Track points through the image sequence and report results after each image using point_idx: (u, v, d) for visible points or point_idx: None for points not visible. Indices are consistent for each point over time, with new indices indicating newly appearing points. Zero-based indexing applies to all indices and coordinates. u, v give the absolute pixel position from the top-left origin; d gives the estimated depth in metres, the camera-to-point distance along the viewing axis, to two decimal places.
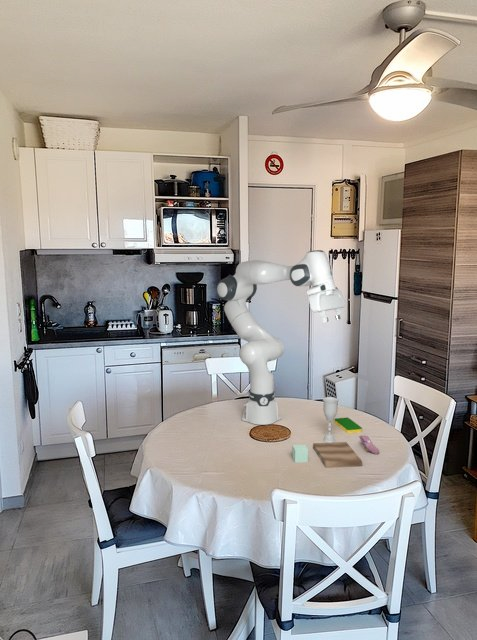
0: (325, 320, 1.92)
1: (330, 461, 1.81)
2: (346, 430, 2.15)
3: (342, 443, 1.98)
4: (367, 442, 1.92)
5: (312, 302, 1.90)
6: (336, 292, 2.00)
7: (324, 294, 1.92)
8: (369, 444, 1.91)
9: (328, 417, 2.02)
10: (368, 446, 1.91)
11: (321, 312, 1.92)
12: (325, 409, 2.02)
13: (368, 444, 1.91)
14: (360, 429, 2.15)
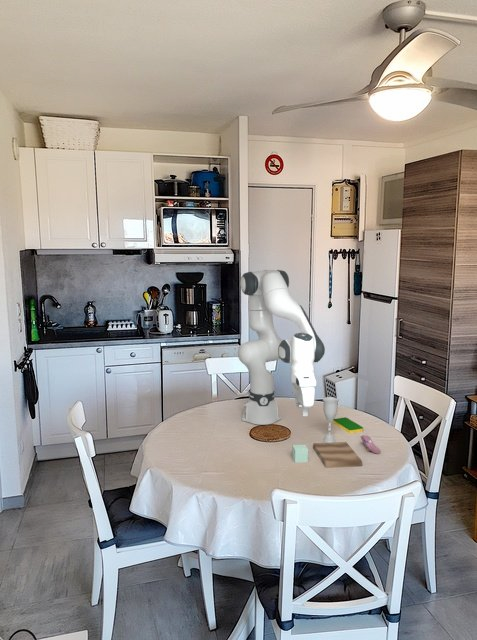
0: (306, 414, 1.79)
1: (330, 461, 1.81)
2: (348, 430, 2.14)
3: (342, 443, 1.98)
4: (368, 442, 1.92)
5: (307, 397, 1.73)
6: None
7: None
8: (370, 444, 1.92)
9: (328, 417, 2.02)
10: (369, 446, 1.91)
11: None
12: (325, 409, 2.02)
13: (369, 444, 1.92)
14: (361, 429, 2.15)
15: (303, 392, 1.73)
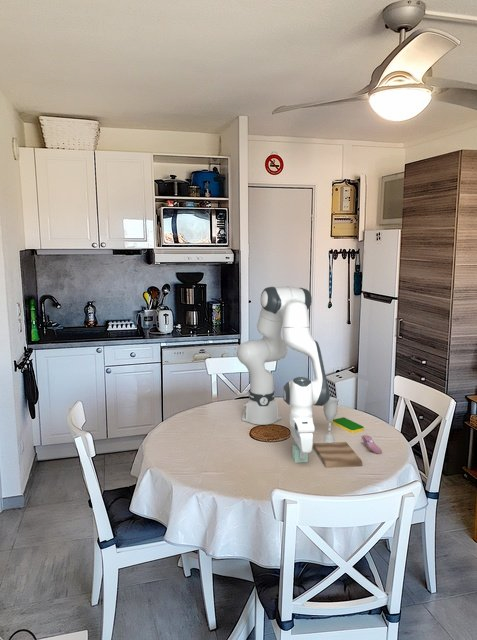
0: (303, 456, 1.83)
1: (330, 461, 1.81)
2: (350, 430, 2.14)
3: (342, 443, 1.98)
4: (369, 442, 1.92)
5: (305, 443, 1.76)
6: None
7: None
8: (371, 444, 1.92)
9: (328, 417, 2.02)
10: (370, 446, 1.91)
11: None
12: (325, 409, 2.02)
13: (370, 444, 1.92)
14: (362, 428, 2.16)
15: (301, 438, 1.76)
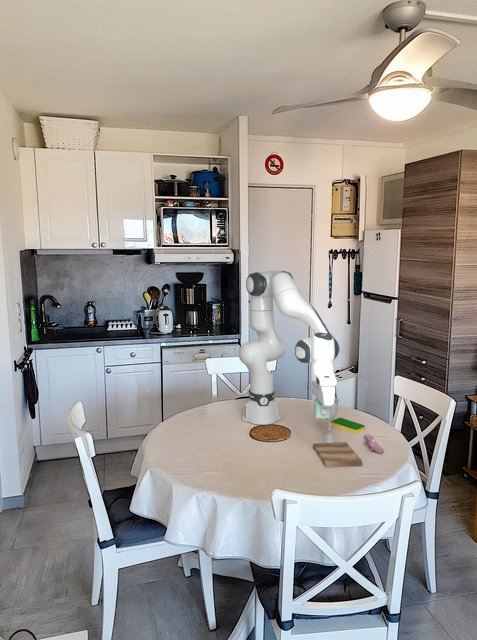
0: (325, 412, 1.81)
1: (330, 461, 1.81)
2: (353, 430, 2.14)
3: (342, 443, 1.98)
4: (371, 442, 1.92)
5: (327, 396, 1.74)
6: None
7: None
8: (373, 444, 1.92)
9: None
10: (373, 446, 1.92)
11: None
12: None
13: (372, 444, 1.92)
14: (364, 427, 2.17)
15: (324, 391, 1.74)
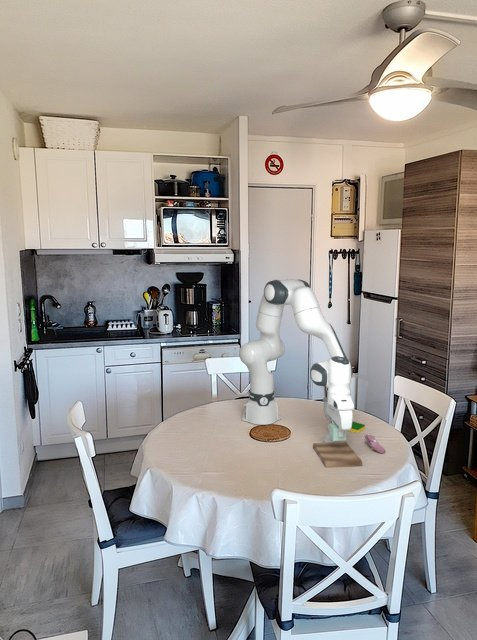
0: (342, 435, 1.84)
1: (330, 461, 1.81)
2: (355, 430, 2.14)
3: (342, 443, 1.98)
4: (373, 441, 1.93)
5: (345, 420, 1.77)
6: None
7: None
8: (375, 443, 1.92)
9: (328, 417, 2.02)
10: (374, 445, 1.92)
11: None
12: (325, 409, 2.02)
13: (374, 443, 1.92)
14: (364, 426, 2.18)
15: (341, 415, 1.77)
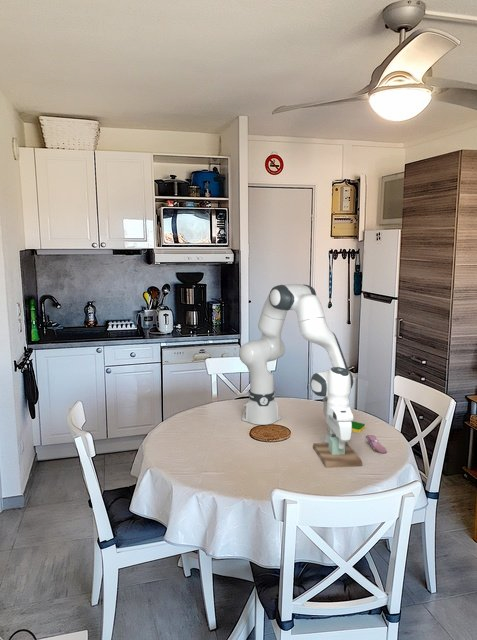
0: (342, 447, 1.84)
1: (330, 461, 1.81)
2: (356, 430, 2.15)
3: None
4: (374, 441, 1.93)
5: (344, 431, 1.78)
6: None
7: None
8: (376, 443, 1.92)
9: None
10: (375, 445, 1.92)
11: None
12: (325, 409, 2.02)
13: (375, 443, 1.92)
14: (364, 425, 2.19)
15: (341, 426, 1.78)
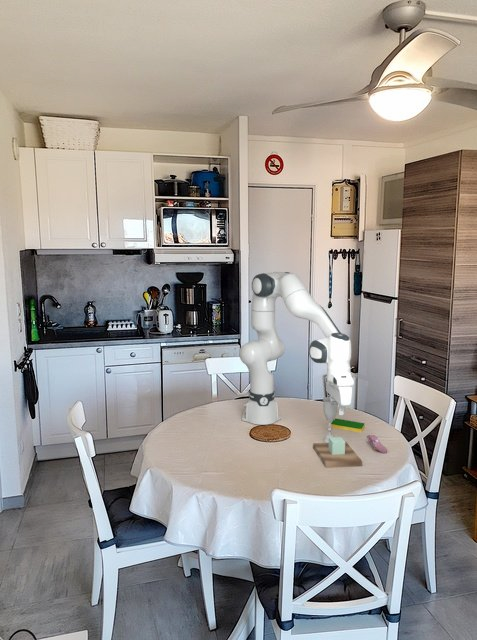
0: (342, 413, 1.82)
1: (330, 461, 1.81)
2: (358, 430, 2.15)
3: None
4: (375, 441, 1.93)
5: (344, 396, 1.76)
6: None
7: None
8: (377, 443, 1.92)
9: (328, 417, 2.02)
10: (376, 445, 1.92)
11: None
12: (325, 409, 2.02)
13: (376, 443, 1.92)
14: (364, 425, 2.20)
15: (341, 391, 1.76)
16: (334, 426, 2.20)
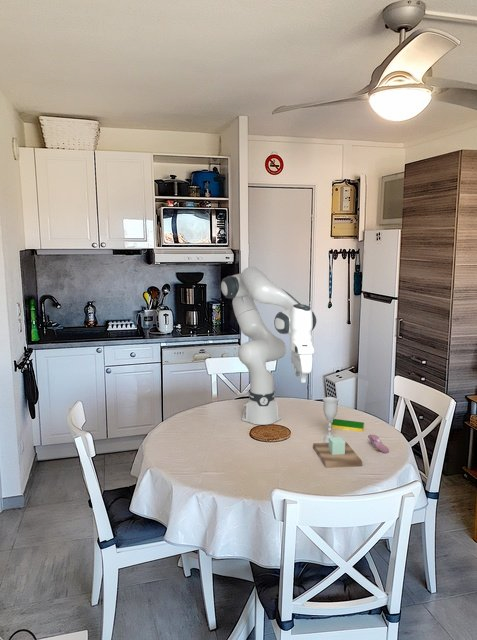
0: (304, 381, 1.88)
1: (330, 461, 1.81)
2: (359, 429, 2.16)
3: None
4: (377, 441, 1.93)
5: (305, 363, 1.83)
6: None
7: None
8: (379, 443, 1.92)
9: (328, 417, 2.02)
10: (378, 445, 1.92)
11: None
12: (325, 409, 2.02)
13: (378, 443, 1.92)
14: (363, 424, 2.21)
15: (301, 359, 1.83)
16: (335, 427, 2.19)
